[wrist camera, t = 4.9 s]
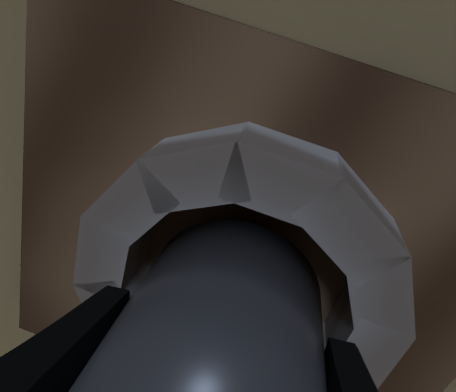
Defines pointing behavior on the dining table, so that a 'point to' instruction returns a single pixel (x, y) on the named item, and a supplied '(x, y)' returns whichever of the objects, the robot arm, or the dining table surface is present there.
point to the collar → (238, 170)
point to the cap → (217, 319)
